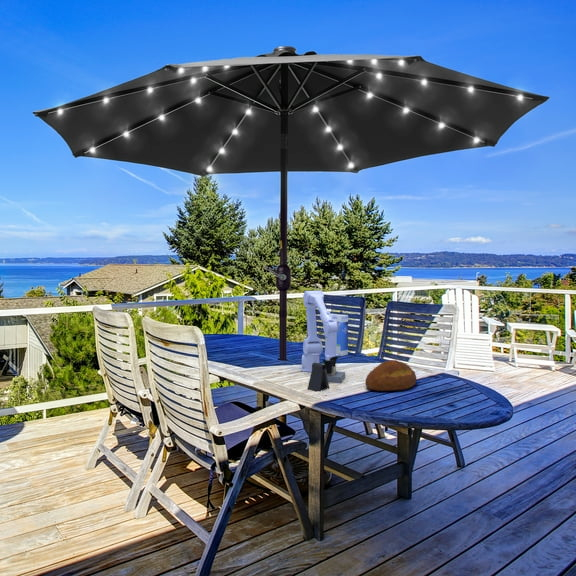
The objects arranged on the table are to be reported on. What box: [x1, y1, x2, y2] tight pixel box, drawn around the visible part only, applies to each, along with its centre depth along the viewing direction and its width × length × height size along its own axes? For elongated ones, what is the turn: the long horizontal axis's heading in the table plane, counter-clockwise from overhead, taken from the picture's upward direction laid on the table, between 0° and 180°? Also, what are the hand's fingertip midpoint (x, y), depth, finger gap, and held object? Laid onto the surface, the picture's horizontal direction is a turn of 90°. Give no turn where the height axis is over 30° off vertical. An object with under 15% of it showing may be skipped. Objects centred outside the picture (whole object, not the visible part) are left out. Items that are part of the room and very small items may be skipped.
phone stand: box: [307, 362, 330, 392], centre depth 219 cm, size 9×6×12 cm, turn 137°
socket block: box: [327, 370, 346, 384], centre depth 237 cm, size 13×12×3 cm
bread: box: [364, 359, 417, 392], centre depth 225 cm, size 21×33×12 cm, turn 127°
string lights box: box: [330, 313, 349, 357], centre depth 303 cm, size 13×8×26 cm, turn 49°
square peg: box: [326, 365, 337, 375], centre depth 237 cm, size 4×4×6 cm
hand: (330, 371), depth 237 cm, fingers open, 7 cm apart
